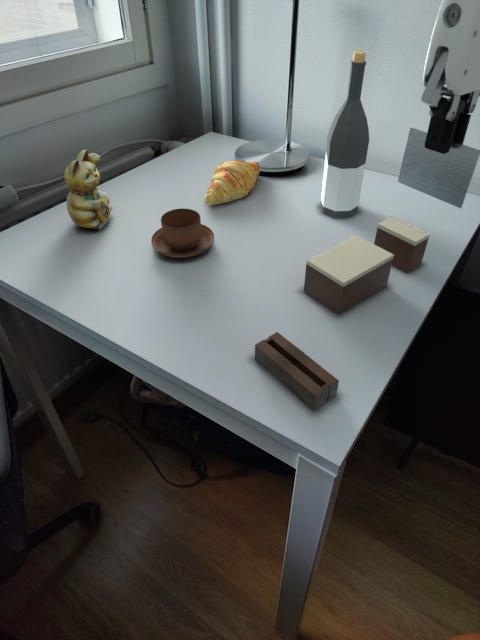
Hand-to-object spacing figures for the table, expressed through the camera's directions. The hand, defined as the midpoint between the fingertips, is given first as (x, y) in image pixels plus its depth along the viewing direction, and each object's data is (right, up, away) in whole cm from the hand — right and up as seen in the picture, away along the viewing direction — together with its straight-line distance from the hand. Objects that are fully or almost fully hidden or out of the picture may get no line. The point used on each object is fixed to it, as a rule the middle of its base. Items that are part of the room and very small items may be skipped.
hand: (443, 146), depth 58 cm
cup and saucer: (-37, -8, +32) cm, 49 cm away
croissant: (-27, +8, +49) cm, 57 cm away
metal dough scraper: (0, -5, +4) cm, 7 cm away
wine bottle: (-4, +2, +42) cm, 42 cm away
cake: (-8, -17, +21) cm, 28 cm away
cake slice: (+3, -11, +27) cm, 29 cm away
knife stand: (-18, -30, +6) cm, 35 cm away
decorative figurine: (-57, -2, +39) cm, 69 cm away
